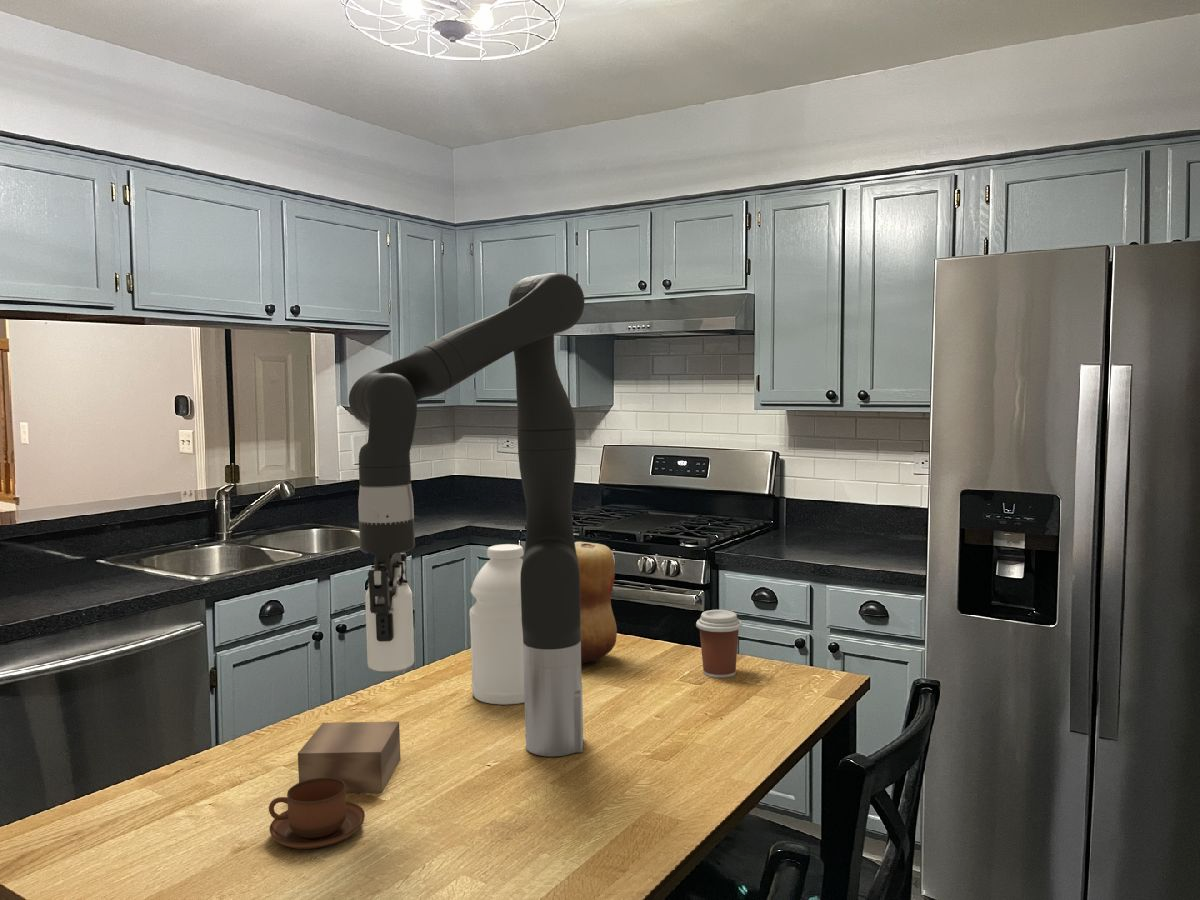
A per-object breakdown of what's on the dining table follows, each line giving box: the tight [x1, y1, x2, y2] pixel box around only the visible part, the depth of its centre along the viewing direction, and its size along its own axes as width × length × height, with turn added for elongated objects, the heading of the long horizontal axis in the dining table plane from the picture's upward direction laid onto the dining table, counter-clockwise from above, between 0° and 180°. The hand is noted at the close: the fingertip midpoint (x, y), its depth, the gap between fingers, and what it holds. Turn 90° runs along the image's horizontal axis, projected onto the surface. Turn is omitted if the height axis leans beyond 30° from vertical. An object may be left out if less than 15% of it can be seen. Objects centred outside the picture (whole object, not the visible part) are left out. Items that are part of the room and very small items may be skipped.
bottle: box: [468, 543, 525, 706], centre depth 175 cm, size 14×14×28 cm
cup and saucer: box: [268, 778, 366, 850], centre depth 123 cm, size 12×12×6 cm
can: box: [364, 578, 415, 674], centre depth 132 cm, size 6×6×12 cm
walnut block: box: [297, 721, 402, 794], centre depth 141 cm, size 12×12×6 cm
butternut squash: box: [575, 541, 618, 665], centre depth 194 cm, size 14×13×25 cm
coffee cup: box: [695, 609, 743, 679], centre depth 186 cm, size 9×9×12 cm
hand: (390, 633), depth 132 cm, fingers closed on can, 6 cm apart
